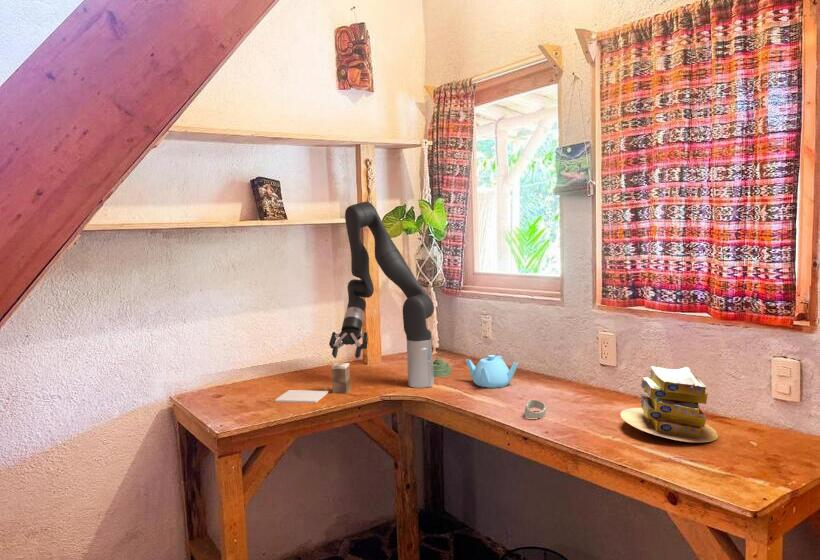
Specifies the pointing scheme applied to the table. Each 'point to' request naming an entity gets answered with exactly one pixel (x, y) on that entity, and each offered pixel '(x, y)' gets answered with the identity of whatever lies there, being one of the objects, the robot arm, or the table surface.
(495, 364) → the teapot
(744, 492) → the table surface
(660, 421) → the stacked boxes on plate
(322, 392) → the white mat
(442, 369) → the decorative artifact
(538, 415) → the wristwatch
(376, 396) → the table surface
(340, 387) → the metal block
